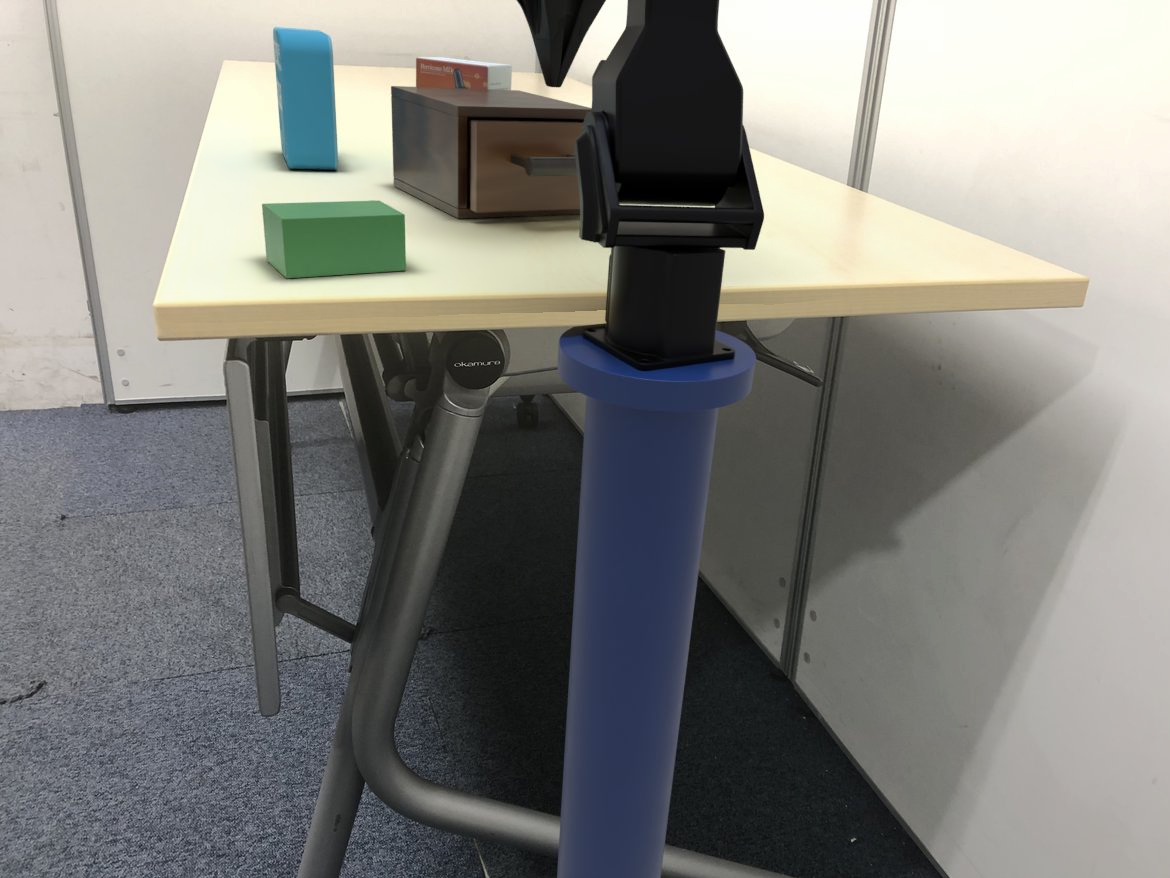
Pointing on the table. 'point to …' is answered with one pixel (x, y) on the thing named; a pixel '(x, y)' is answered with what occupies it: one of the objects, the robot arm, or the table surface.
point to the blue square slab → (306, 98)
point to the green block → (334, 238)
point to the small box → (462, 74)
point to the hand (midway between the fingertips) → (553, 86)
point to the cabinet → (456, 139)
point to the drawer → (522, 164)
